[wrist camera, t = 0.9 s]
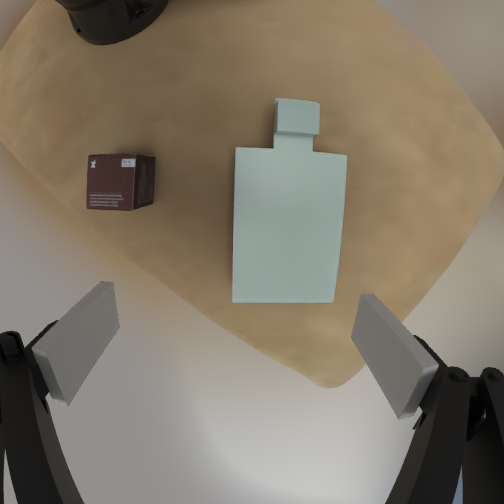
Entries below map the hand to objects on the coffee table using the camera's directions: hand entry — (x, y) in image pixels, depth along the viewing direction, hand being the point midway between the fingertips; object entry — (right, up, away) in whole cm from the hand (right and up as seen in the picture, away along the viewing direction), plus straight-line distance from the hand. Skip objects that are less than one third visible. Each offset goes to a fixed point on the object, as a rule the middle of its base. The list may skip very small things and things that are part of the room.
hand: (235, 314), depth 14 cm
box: (-14, +12, +20) cm, 27 cm away
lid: (+5, +8, +16) cm, 18 cm away
